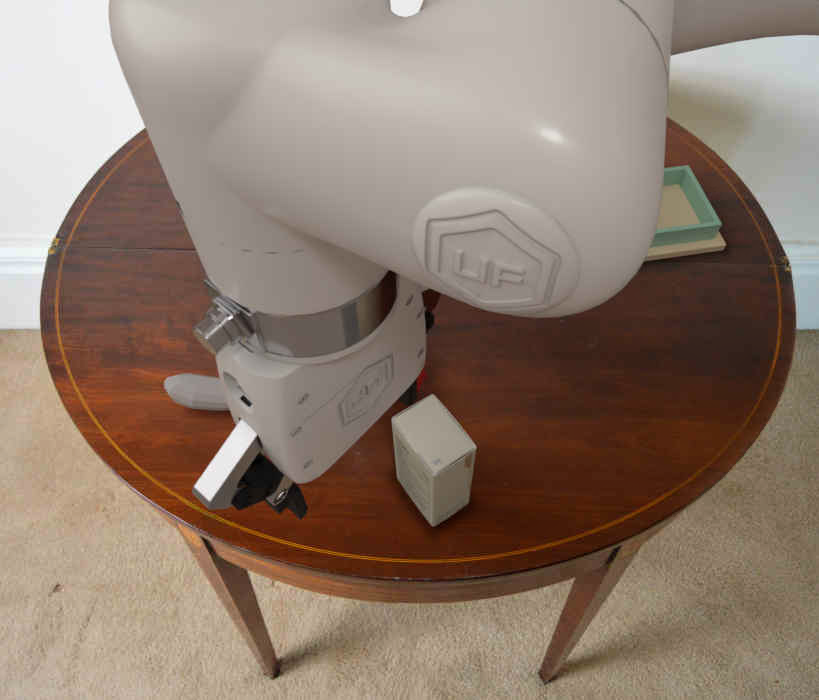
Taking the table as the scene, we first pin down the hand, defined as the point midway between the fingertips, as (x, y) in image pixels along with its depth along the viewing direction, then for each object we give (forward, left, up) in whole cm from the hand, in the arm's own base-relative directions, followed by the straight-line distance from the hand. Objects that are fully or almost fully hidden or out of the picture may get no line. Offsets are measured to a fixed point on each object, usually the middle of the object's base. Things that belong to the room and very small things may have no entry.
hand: (343, 442), depth 42 cm
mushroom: (+14, -14, -22) cm, 30 cm away
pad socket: (-15, -50, -21) cm, 56 cm away
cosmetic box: (-3, -7, -22) cm, 24 cm away
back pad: (-15, -50, -22) cm, 57 cm away
